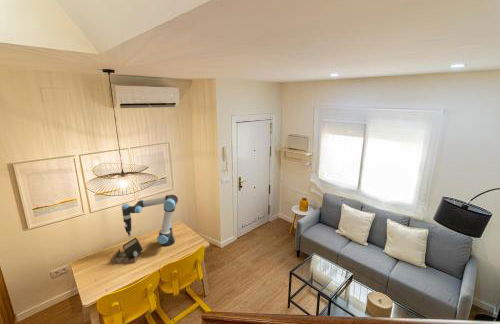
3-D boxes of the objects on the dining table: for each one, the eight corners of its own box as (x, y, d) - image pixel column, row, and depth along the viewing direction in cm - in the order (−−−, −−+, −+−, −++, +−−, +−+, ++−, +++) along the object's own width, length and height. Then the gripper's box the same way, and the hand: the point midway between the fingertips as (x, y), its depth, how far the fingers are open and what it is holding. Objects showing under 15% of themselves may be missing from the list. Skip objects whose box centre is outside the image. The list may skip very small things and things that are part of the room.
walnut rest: (141, 252, 272) (140, 248, 271) (135, 262, 255) (134, 258, 254) (119, 253, 271) (118, 249, 269) (111, 264, 253) (110, 259, 252)
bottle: (138, 241, 278) (144, 252, 259) (125, 250, 271) (130, 262, 252) (135, 236, 275) (141, 247, 256) (121, 245, 267) (126, 257, 248)
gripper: (126, 215, 272) (128, 233, 278) (120, 220, 259) (123, 240, 265) (133, 214, 272) (135, 233, 278) (128, 220, 259) (130, 239, 266)
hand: (129, 236), depth 272 cm, fingers closed
